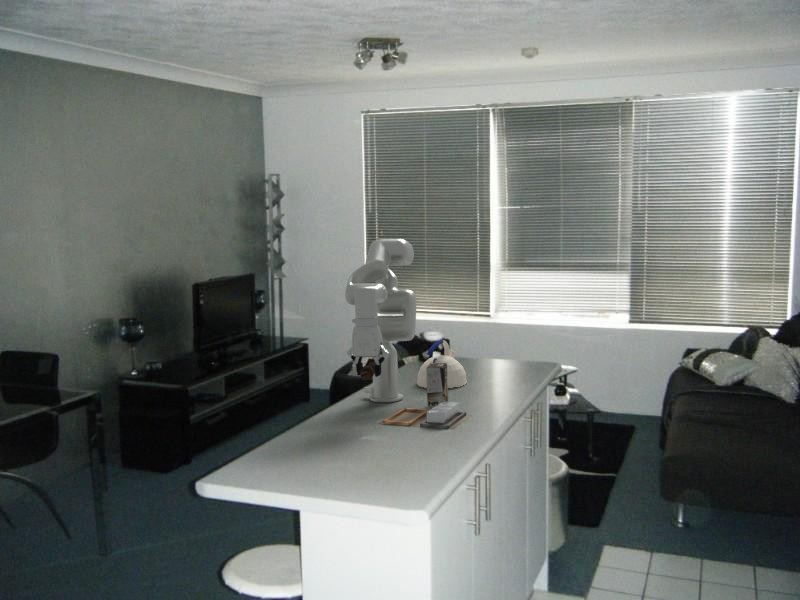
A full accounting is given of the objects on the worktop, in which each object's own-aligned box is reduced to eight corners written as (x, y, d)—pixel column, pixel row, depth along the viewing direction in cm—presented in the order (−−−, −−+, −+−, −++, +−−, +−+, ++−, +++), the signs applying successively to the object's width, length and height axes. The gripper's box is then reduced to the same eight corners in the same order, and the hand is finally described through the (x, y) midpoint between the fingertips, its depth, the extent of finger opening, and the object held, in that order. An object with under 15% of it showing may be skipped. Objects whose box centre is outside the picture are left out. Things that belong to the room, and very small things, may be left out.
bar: (427, 425, 260) (426, 412, 260) (443, 414, 274) (442, 401, 273) (444, 427, 258) (444, 413, 257) (459, 415, 271) (459, 402, 271)
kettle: (476, 381, 332) (474, 337, 330) (451, 391, 315) (450, 345, 313) (433, 377, 343) (432, 335, 341) (407, 387, 326) (405, 342, 324)
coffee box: (445, 413, 280) (444, 367, 278) (427, 413, 281) (425, 367, 280) (449, 407, 289) (447, 362, 287) (431, 406, 290) (429, 362, 289)
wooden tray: (378, 427, 265) (378, 420, 265) (400, 413, 282) (400, 407, 282) (453, 433, 255) (453, 426, 255) (471, 418, 272) (471, 412, 271)
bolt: (363, 387, 268) (372, 375, 283) (375, 379, 267) (384, 368, 282) (353, 372, 268) (363, 361, 283) (366, 364, 267) (375, 354, 281)
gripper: (338, 323, 272) (341, 376, 274) (385, 324, 265) (387, 378, 267) (348, 320, 279) (351, 372, 281) (394, 321, 272) (396, 374, 274)
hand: (368, 374), depth 274 cm, fingers closed on bolt, 6 cm apart
